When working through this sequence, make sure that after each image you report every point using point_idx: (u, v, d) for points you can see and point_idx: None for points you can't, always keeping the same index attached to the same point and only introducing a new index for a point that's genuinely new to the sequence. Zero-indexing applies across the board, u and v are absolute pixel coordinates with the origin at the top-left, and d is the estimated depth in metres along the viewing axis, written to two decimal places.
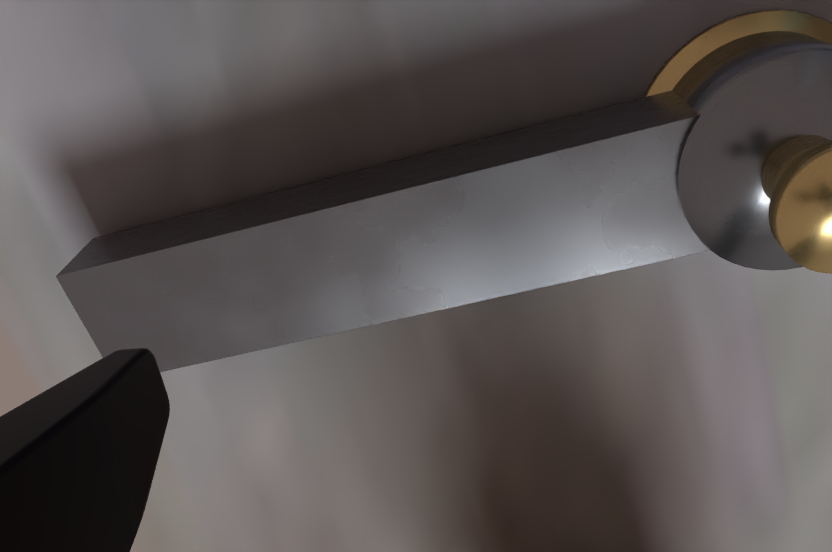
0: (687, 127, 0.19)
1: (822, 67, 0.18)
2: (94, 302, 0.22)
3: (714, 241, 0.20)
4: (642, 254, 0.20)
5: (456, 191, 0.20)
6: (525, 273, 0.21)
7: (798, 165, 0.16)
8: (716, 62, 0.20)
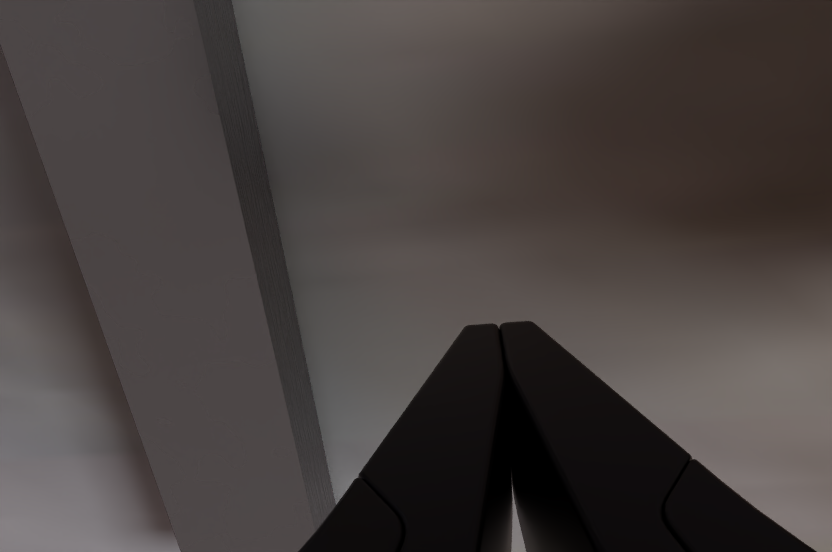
0: None
1: None
2: None
3: None
4: (175, 7, 0.14)
5: (88, 242, 0.16)
6: (205, 173, 0.15)
7: None
8: None
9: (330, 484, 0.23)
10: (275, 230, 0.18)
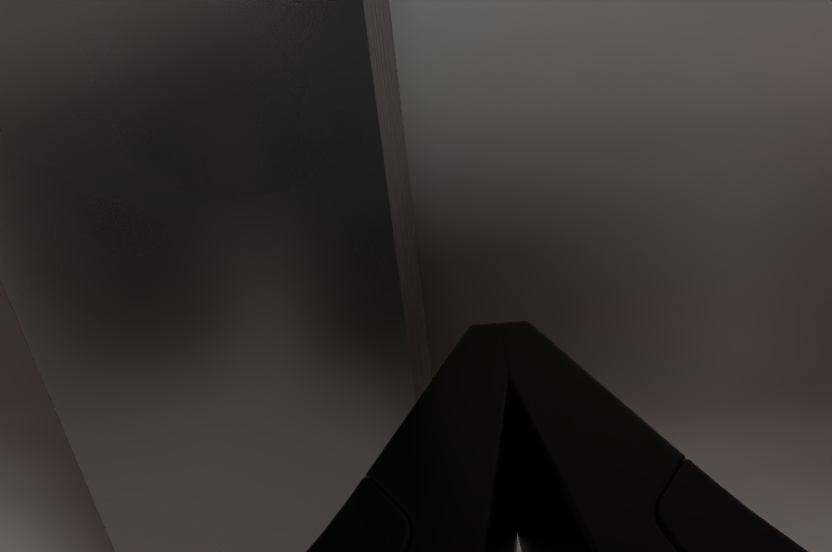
0: None
1: None
2: None
3: None
4: (331, 86, 0.06)
5: (129, 504, 0.09)
6: (361, 396, 0.08)
7: None
8: None
9: None
10: None
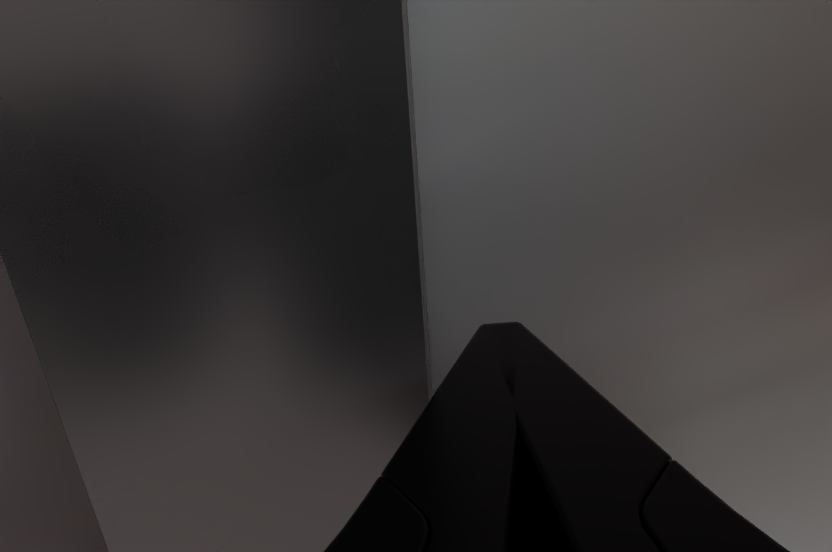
0: None
1: None
2: None
3: None
4: (364, 79, 0.06)
5: (128, 503, 0.08)
6: (374, 395, 0.08)
7: None
8: None
9: None
10: None
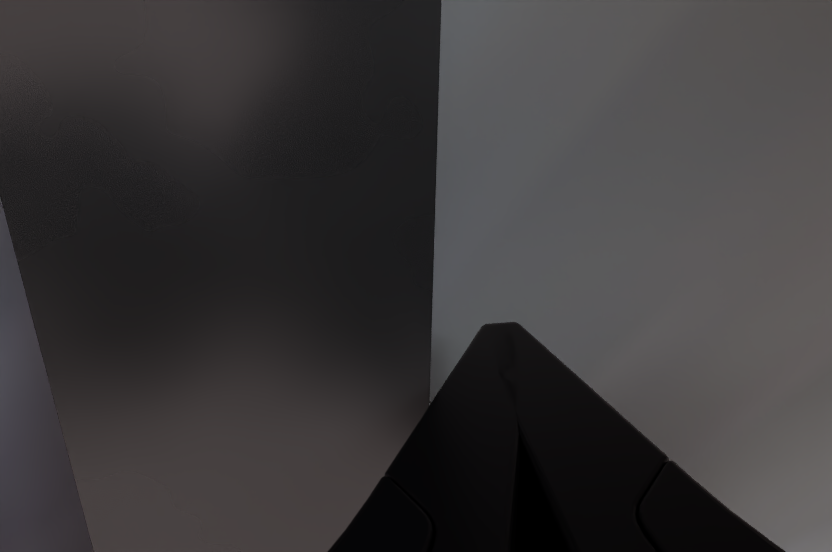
0: None
1: None
2: None
3: None
4: (397, 72, 0.06)
5: (113, 485, 0.08)
6: (375, 390, 0.08)
7: None
8: None
9: None
10: None
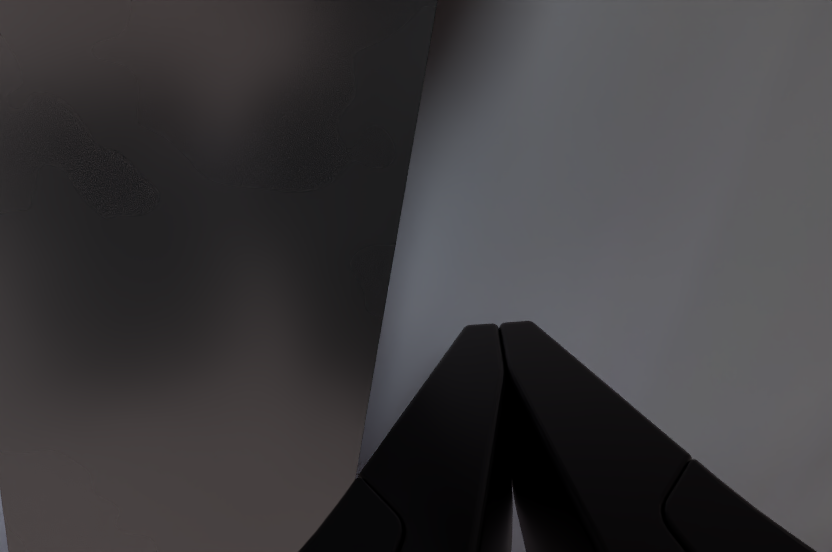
0: None
1: None
2: None
3: None
4: (376, 102, 0.06)
5: (34, 462, 0.08)
6: (312, 407, 0.08)
7: None
8: None
9: None
10: None
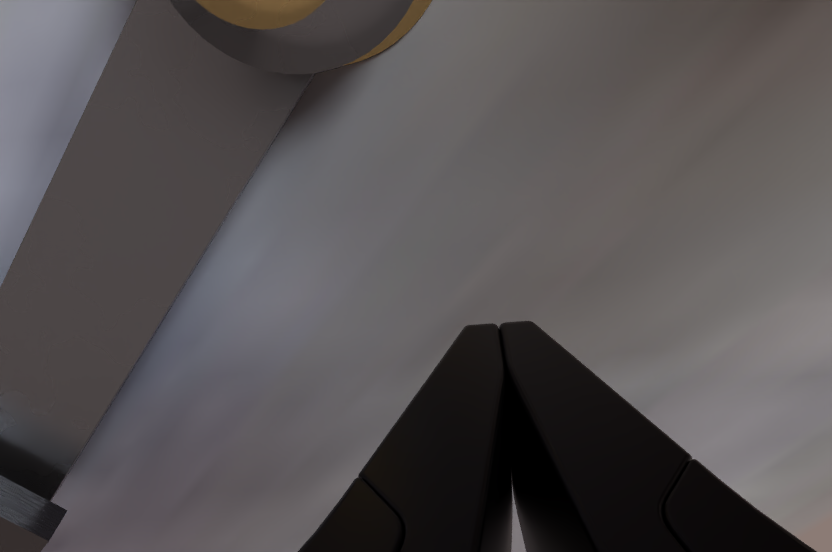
0: None
1: None
2: None
3: (295, 63, 0.16)
4: (259, 129, 0.17)
5: (59, 205, 0.18)
6: (189, 228, 0.18)
7: None
8: None
9: None
10: (195, 267, 0.21)
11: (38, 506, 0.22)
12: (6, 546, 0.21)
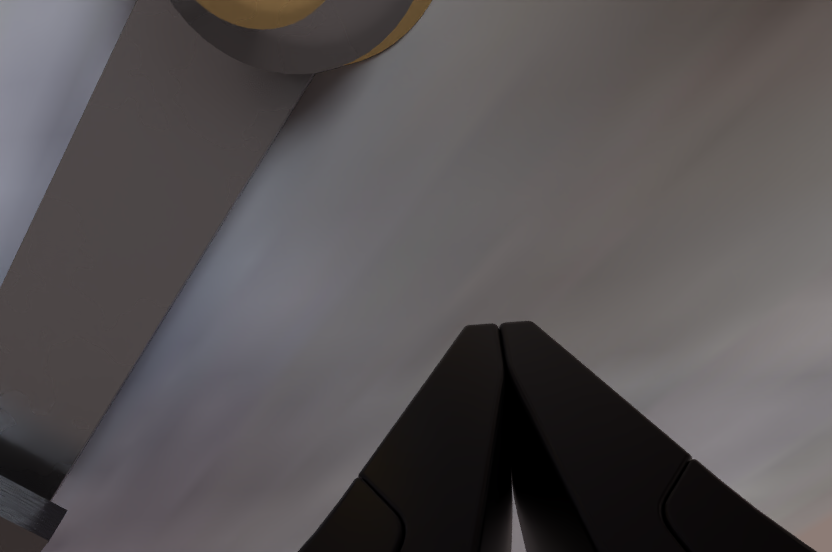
0: None
1: None
2: None
3: (295, 63, 0.16)
4: (259, 129, 0.17)
5: (59, 205, 0.18)
6: (189, 228, 0.18)
7: None
8: None
9: None
10: (195, 267, 0.21)
11: (38, 506, 0.22)
12: (6, 546, 0.21)
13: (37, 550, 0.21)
